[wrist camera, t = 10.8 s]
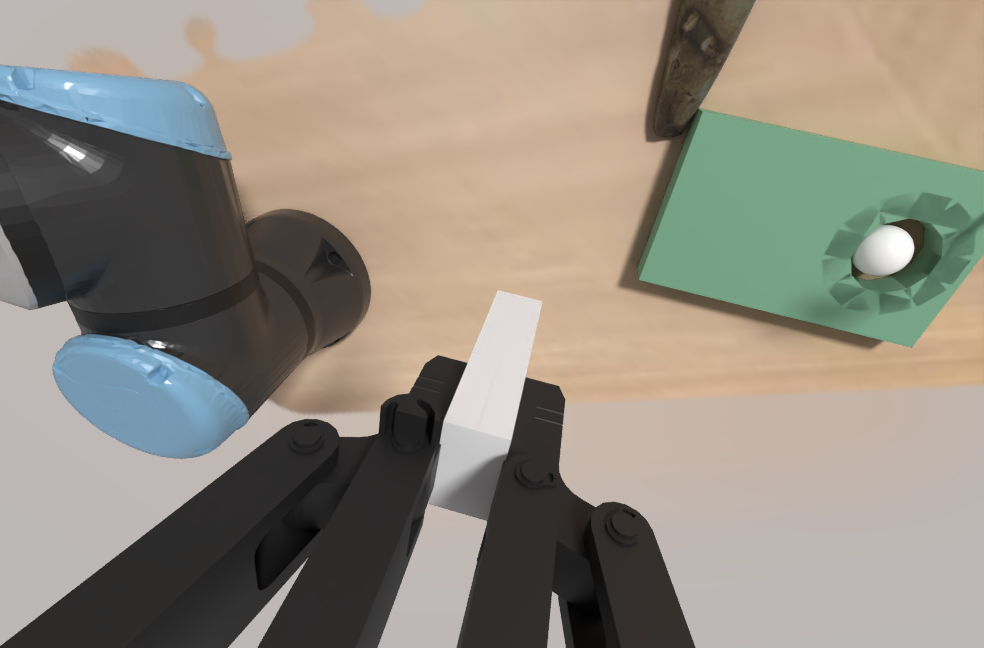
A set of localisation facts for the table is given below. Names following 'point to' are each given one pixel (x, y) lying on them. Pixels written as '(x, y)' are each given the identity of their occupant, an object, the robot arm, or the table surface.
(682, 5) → the stone
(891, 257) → the ball
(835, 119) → the table surface
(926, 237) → the green
